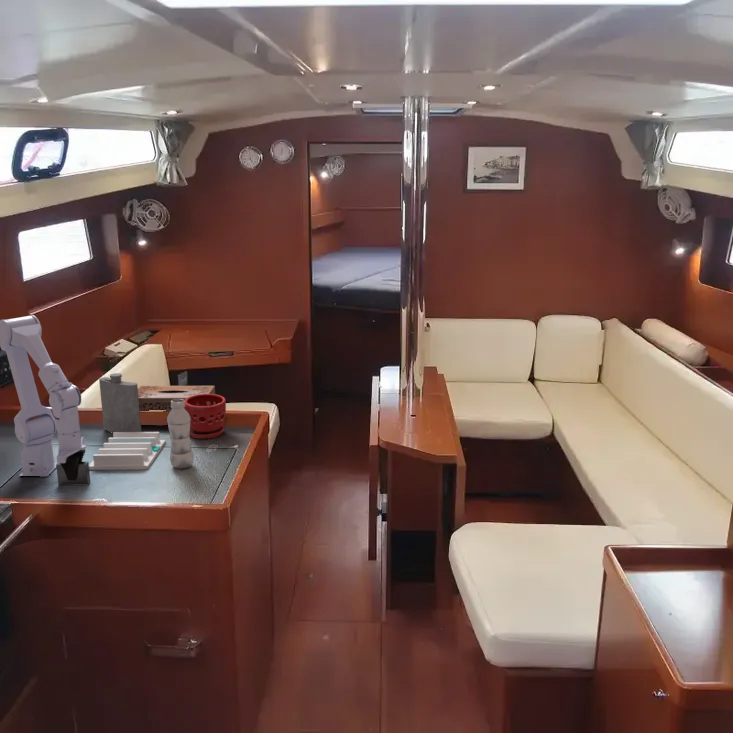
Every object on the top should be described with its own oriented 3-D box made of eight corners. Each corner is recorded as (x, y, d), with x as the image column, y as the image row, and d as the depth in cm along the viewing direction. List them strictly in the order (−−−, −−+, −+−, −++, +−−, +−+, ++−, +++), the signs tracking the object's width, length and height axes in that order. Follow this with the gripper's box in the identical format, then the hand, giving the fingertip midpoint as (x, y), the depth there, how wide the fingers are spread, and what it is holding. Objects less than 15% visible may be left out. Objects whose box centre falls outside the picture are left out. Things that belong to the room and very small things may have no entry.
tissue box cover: (130, 426, 249) (128, 398, 246) (143, 412, 263) (141, 385, 260) (207, 426, 249) (206, 398, 246) (216, 412, 263) (214, 385, 260)
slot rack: (147, 469, 213) (146, 456, 212) (88, 469, 213) (86, 456, 212) (165, 443, 233) (164, 430, 232) (111, 443, 233) (109, 431, 232)
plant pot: (178, 439, 236) (175, 403, 233) (199, 426, 249) (196, 391, 246) (215, 443, 233) (213, 407, 230) (234, 429, 245) (232, 395, 242)
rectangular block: (88, 484, 203) (85, 464, 201) (58, 485, 202) (56, 464, 201) (90, 481, 204) (88, 461, 203) (61, 482, 204) (58, 461, 203)
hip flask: (143, 435, 240) (138, 375, 235) (134, 439, 236) (128, 379, 231) (109, 427, 248) (104, 369, 242) (99, 430, 244) (94, 372, 239)
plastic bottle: (188, 472, 211) (183, 404, 206) (166, 470, 212) (161, 403, 207) (198, 463, 217) (193, 398, 212) (176, 461, 218) (171, 396, 213)
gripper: (74, 440, 193) (79, 488, 196) (92, 421, 207) (97, 467, 210) (46, 440, 192) (52, 489, 196) (67, 422, 206) (72, 467, 210)
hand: (73, 477), depth 203 cm, fingers closed on rectangular block, 2 cm apart
